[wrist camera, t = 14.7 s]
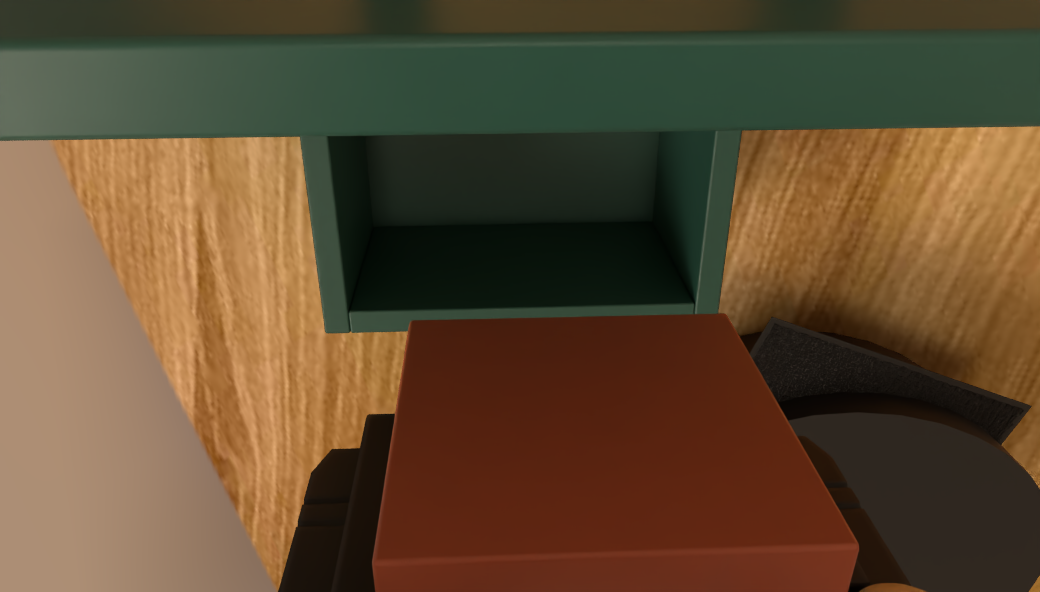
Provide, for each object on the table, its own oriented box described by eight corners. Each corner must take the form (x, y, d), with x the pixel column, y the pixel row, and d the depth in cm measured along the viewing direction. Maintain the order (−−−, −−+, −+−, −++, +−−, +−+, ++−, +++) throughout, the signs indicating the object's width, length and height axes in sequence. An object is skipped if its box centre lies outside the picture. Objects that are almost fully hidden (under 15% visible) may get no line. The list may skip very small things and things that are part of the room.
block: (426, 556, 13) (404, 847, 9) (409, 318, 11) (370, 562, 7) (694, 546, 14) (786, 828, 10) (727, 311, 12) (863, 545, 7)
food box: (666, 231, 33) (717, 324, 26) (357, 237, 32) (325, 334, 25) (707, -219, 25) (794, -257, 19) (310, -222, 25) (247, -262, 18)
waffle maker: (859, 577, 44) (939, 699, 37) (567, 507, 39) (600, 633, 32) (1023, 365, 38) (1149, 464, 32) (707, 251, 33) (781, 340, 27)
